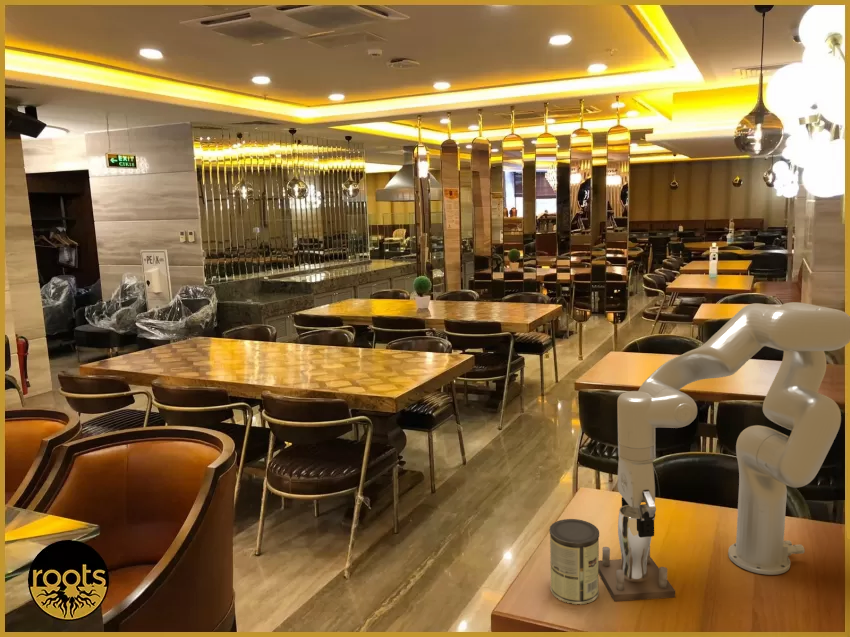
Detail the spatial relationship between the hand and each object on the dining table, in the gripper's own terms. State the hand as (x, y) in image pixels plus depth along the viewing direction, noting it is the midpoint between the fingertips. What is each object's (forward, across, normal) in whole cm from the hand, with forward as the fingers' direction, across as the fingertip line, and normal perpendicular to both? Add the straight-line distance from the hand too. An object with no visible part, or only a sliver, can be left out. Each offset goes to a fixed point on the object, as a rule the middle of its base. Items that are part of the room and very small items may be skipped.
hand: (637, 524), depth 138 cm
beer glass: (+12, 0, -1) cm, 12 cm away
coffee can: (+13, +2, -15) cm, 20 cm away
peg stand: (+13, 0, -1) cm, 13 cm away
